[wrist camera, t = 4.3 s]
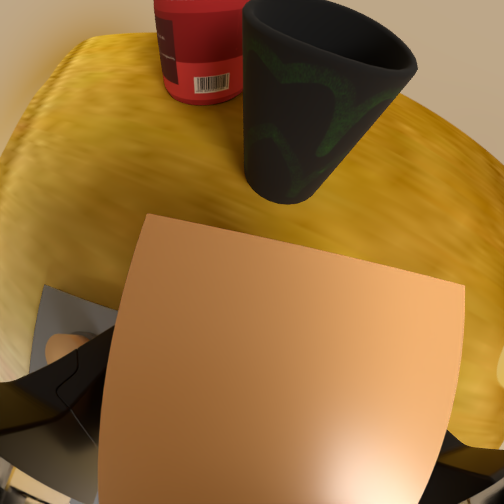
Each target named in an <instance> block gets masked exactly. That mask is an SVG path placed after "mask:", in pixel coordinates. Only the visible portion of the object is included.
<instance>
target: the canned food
mask: <svg viewBox="0 0 504 504" xmlns="http://www.w3.org/2000/svg"><path fill="white" fill-rule="evenodd" d="M248 1H250V0H154V13H155V21H156V29H157V37H158V45H159V52H160V59H161V65H162V72H163V78H164V84H165V87H166V89H167V91H168V92H169V94H170V95H171V96H172V97H173V98H174V99H176V100H177V101H180V102H182V103H186V104H191V105H211V104H217V103H221V102H225V101H227V100H230V99H232V98H234V97H236V96H237V95H239V94H240V93H241V92H242V91H243V49H242V8H243V7H244V5H245V4H246V3H247V2H248Z"/></svg>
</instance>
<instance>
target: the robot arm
mask: <svg viewBox="0 0 504 504" xmlns="http://www.w3.org/2000/svg"><path fill="white" fill-rule="evenodd" d="M114 328H115V325H113V326H112V327H110V328H108V329H107V330H105V331H104V332H102V333H100V334H99V335H97V336H96V337H94V338H92V339H91V340H89V341H88V342H86V343H84V344H83V345H81V346H80V347H78V349H75V350H73V351H71V352H70V353H68V354H67V355H65V356H63V357H61V358H60V359H58V360H56V361H54V362H52V363H50V364H48V365H46V366H45V367H42V368H40V369H38V370H36V371H34V372H32V373H30V374H28V375H26V376H24V377H21V378H19V379H17V380H14V381H11V382H0V504H69V503H70V500H71V498H72V499H74V500H76V501H79V502H81V503H83V504H93V503H94V501H95V498H96V495H97V492H98V448H99V431H100V418H101V408H102V399H103V391H104V384H105V377H106V370H107V364H108V358H109V353H110V347H111V342H112V337H113V332H114ZM418 504H504V450H497V449H485V448H475V447H470V446H467V445H465V444H463V443H461V442H460V441H459V440H458V439H457V438H456V437H455V436H453V435H452V434H451V433H450V432H449V431H448V430H446V433H445V436H444V440H443V443H442V446H441V449H440V452H439V455H438V458H437V460H436V463H435V466H434V468H433V471H432V473H431V476H430V478H429V481H428V483H427V485H426V487H425V490H424V492H423V494H422V496H421V498H420V500H419V502H418Z"/></svg>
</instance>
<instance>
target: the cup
mask: <svg viewBox="0 0 504 504" xmlns="http://www.w3.org/2000/svg"><path fill="white" fill-rule="evenodd" d="M242 49H243V129H244V171H245V176H246V179H247V182H248V183H249V185H250V186H251V187H252V189H253V190H254V191H255V192H256V193H258V194H259V195H260V196H261V197H263V198H265V199H267V200H269V201H272V202H275V203H278V204H297V203H300V202H302V201H305V200H307V199H308V198H309V197H311V196H312V195H313V194H314V193H315V191H316V190H317V189H318V188H319V187H320V186H321V185H322V183H323V182H324V181H325V180H326V179H327V178H328V176H329V175H330V174H331V173H332V172H333V171H334V169H335V168H336V167H337V166H338V165H339V164H340V162H341V161H342V160H343V159H344V158H345V157H346V155H347V154H348V153H349V152H350V151H351V149H352V148H353V147H354V146H355V145H356V144H357V142H358V141H359V140H360V139H361V138H362V137H363V135H364V134H365V133H366V132H367V131H368V130H369V128H370V127H371V126H372V125H373V124H374V122H375V121H376V120H377V119H378V118H379V117H380V115H381V114H382V113H383V112H384V111H385V109H386V108H387V107H388V106H389V105H390V103H391V102H392V101H393V100H394V99H395V98H396V96H397V95H398V94H399V93H400V92H401V90H402V89H403V88H404V87H405V86H406V84H407V83H408V82H409V81H410V80H411V78H412V77H413V76H414V75H415V73H416V71H417V70H418V67H417V62H416V58H415V57H414V55H413V53H412V52H411V50H410V49H409V48H408V47H407V45H406V44H405V43H404V42H403V41H402V40H401V39H400V38H398V37H397V36H396V35H395V34H394V33H392V32H391V31H390V30H388V29H387V28H386V27H384V26H383V25H381V24H380V23H378V22H376V21H374V20H373V19H371V18H369V17H367V16H365V15H364V14H361V13H359V12H357V11H355V10H352V9H350V8H348V7H345V6H342V5H339V4H336V3H333V2H330V1H327V0H250V1H248V2H247V3H246V4H245V5H244V7H243V8H242Z"/></svg>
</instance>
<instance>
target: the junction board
mask: <svg viewBox="0 0 504 504" xmlns="http://www.w3.org/2000/svg"><path fill="white" fill-rule="evenodd" d="M117 314H118V311H117V310H114V309H111V308H108V307H105V306H102V305H99V304H96V303H93V302H90V301H87V300H84V299H82V298H79V297H76V296H74V295H71V294H68V293H66V292H63V291H60V290H58V289H55V288H53V287H50V286H47V285H45V284H44V288H43V292H42V296H41V301H40V305H39V310H38V315H37V320H36V325H35V331H34V337H33V344H32V352H31V360H30V371H29V374H30V373H32V372H34V371H36V370H38V369H40V368H42V367H45V366H46V365H48V364H50V363H52V362H54V361H56V360H58V359H60V358H61V357H63V356H65V355H67V354H68V353H70V352H71V351H73V350H75V349H78V347H80V346H81V345H83V344H84V343H86V342H88V341H89V340H91V339H92V338H94V337H96V336H97V335H99V334H100V333H102V332H104V331H105V330H107V329H108V328H110V327H112V326H113V325H115V323H116V318H117ZM70 504H83V503H81V502H79V501H76V500H74V499H72V498H71V500H70ZM93 504H99V498H98V492H97V495H96V498H95V501H94V503H93Z"/></svg>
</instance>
